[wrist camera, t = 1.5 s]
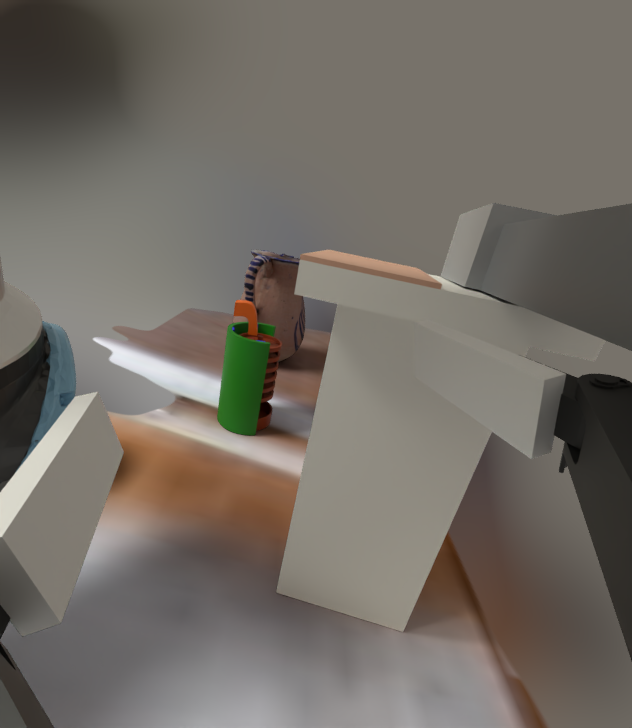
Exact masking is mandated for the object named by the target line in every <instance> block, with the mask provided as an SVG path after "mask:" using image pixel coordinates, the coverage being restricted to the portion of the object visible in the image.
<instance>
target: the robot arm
mask: <svg viewBox="0 0 632 728" xmlns="http://www.w3.org/2000/svg"><path fill="white" fill-rule="evenodd" d="M414 330H415V378H417V379H418V380H420V381H421V382H422V383H424V384H425V385H427V386H428V387H430V388H431V389H432V390H434V391H435V392H437V393H438V394H440V395H441V396H442V397H444V398H445V399H447V400H448V401H449V402H451V403H452V404H454V405H455V406H457V407H458V408H459V409H461V410H462V411H464V412H465V413H467V414H468V415H469V416H471V417H472V418H474V419H475V420H477V421H478V422H479V423H481V424H482V425H484V426H485V427H487V428H488V429H489V430H491V431H492V432H494V433H495V434H497V435H498V436H499V437H501V438H502V439H504V440H505V441H506V442H508V443H509V444H511V445H512V446H514V447H515V448H516V449H518V450H519V451H521V452H522V453H524V454H525V455H526V456H528V457H529V458H531V459H533V458H536V457H539V456H542V455H544V454H547V453H550V452H551V450H552V445H553V440H554V435H555V436H557V437H558V438H560V439H562V440H563V441H565V443H564V448H563V453H562V458H561V463H560V467H559V472H561V473H563V472H564V468H565V467H567V466H568V469H569V472H570V475H571V478H572V481H573V484H574V487H575V490H576V493H577V496H578V499H579V502H580V505H581V508H582V511H583V515H584V518H585V521H586V524H587V527H588V530H589V533H590V535H591V539H592V542H593V545H594V548H595V551H596V554H597V557H598V560H599V563H600V566H601V569H602V572H603V575H604V578H605V581H606V584H607V587H608V590H609V593H610V597H611V599H612V602H613V606H614V609H615V612H616V615H617V618H618V621H619V624H620V627H621V630H622V633H623V636H624V639H625V642H626V645H627V648H628V651H629V654H630V657H631V660H632V383H631V382H630V381H627V380H626V379H622V378H620V377H615V376H611V375H604V374H587V375H582V376H581V377H579V378H577V377H574V376H571V375H569V374H566V373H564V372H561V371H559V370H556V369H554V368H551V367H549V366H546V365H543V364H541V363H539V362H536V361H533V360H531V359H528V358H526V357H524V356H521V355H518V354H515V353H513V352H510V351H507V350H505V349H502V348H500V347H497V346H495V345H492V344H490V343H487V342H485V341H482V340H480V339H477V338H475V337H472V336H470V335H467V334H465V333H462V332H460V331H457V330H455V329H452V328H450V327H447V326H445V325H442V324H440V323H437V322H435V321H432V320H430V319H429V320H424V321H419V322H415V323H414ZM75 392H76V373H75V364H74V357H73V352H72V348H71V345H70V341H69V339H68V336H67V334H66V332H65V331H64V330H63V328H61V327H60V326H58V325H56V324H50V323H46V322H44V321H42V316H41V313H40V310H39V308H38V307H37V305H36V304H35V302H34V301H33V300H32V299H31V298H30V297H29V296H27V295H26V294H25V293H23V292H22V291H20V290H19V289H17V288H15V287H14V286H12V285H10V284H8V283H6V282H5V281H4V278H3V272H2V265H1V258H0V639H1V637H2V635H3V633H4V631H5V629H6V627H7V625H8V623H9V621H10V622H11V623H12V624H13V625H14V627H15V628H16V629H17V631H18V632H19V633H20V634H21V636H22V637H23V636H26V635H29V634H32V633H35V632H38V631H41V630H43V629H46V628H49V627H52V626H55V625H58V624H61V622H62V620H63V617H64V614H65V611H66V609H67V606H68V603H69V600H70V598H71V595H72V592H73V590H74V587H75V584H76V581H77V579H78V576H79V573H80V570H81V568H82V565H83V562H84V560H85V557H86V554H87V551H88V549H89V546H90V543H91V541H92V538H93V535H94V532H95V530H96V527H97V524H98V521H99V519H100V516H101V513H102V511H103V508H104V505H105V502H106V500H107V497H108V494H109V491H110V489H111V486H112V483H113V481H114V478H115V475H116V472H117V470H118V467H119V464H120V461H121V459H122V456H123V453H124V451H123V449H122V447H121V444H120V442H119V440H118V437H117V435H116V433H115V430H114V428H113V425H112V423H111V421H110V418H109V416H108V414H107V411H106V409H105V407H104V404H103V402H102V400H101V397H100V395H99V392H94V393H90V394H85V395H81V396H76V397H74V396H75ZM0 728H54V726H53V725H52V723H51V721H50V720H49V718H48V716H47V715H46V713H45V712H44V710H43V708H42V707H41V705H40V703H39V702H38V700H37V698H36V697H35V695H34V693H33V692H32V690H31V688H30V687H29V685H28V683H27V682H26V680H25V678H24V677H23V675H22V673H21V672H20V670H19V668H18V667H17V665H16V664H15V662H14V660H13V659H12V657H11V655H10V654H9V652H8V650H7V649H6V648H5V646H4V645H3V644H2V643H1V642H0Z"/></svg>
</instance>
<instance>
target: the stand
mask: <svg viewBox="0 0 632 728" xmlns="http://www.w3.org/2000/svg"><path fill="white" fill-rule="evenodd" d="M294 294H296V295H300V296H305V297H309V298H314V299H319V300H323V301H328V302H332V303H336V304H338V305H337V310H336V315H335V319H334V324H333V329H332V333H331V338H330V343H329V347H328V352H327V357H326V361H325V366H324V371H323V375H322V380H321V385H320V389H319V394H318V399H317V403H316V408H315V413H314V417H313V422H312V426H311V431H310V436H309V440H308V445H307V450H306V454H305V459H304V464H303V468H302V473H301V478H300V482H299V487H298V492H297V496H296V501H295V506H294V510H293V515H292V520H291V524H290V529H289V534H288V538H287V543H286V548H285V552H284V557H283V562H282V566H281V571H280V576H279V580H278V585H277V590H276V593H279V594H282V595H285V596H289V597H292V598H295V599H298V600H301V601H305V602H308V603H311V604H314V605H318V606H321V607H324V608H327V609H330V610H334V611H337V612H340V613H343V614H346V615H350V616H353V617H356V618H359V619H363V620H366V621H369V622H372V623H375V624H379V625H382V626H385V627H388V628H392V629H395V630H398V631H401V632H403V631H404V629H405V627H406V624H407V622H408V620H409V618H410V615H411V613H412V611H413V609H414V606H415V604H416V602H417V600H418V597H419V595H420V593H421V590H422V588H423V586H424V584H425V581H426V579H427V577H428V575H429V572H430V570H431V568H432V566H433V563H434V561H435V559H436V557H437V554H438V552H439V550H440V548H441V545H442V543H443V541H444V539H445V536H446V534H447V532H448V530H449V527H450V525H451V523H452V520H453V518H454V516H455V514H456V511H457V509H458V507H459V504H460V502H461V500H462V498H463V496H464V493H465V491H466V489H467V487H468V484H469V482H470V480H471V477H472V475H473V473H474V471H475V469H476V466H477V464H478V462H479V459H480V457H481V455H482V453H483V450H484V448H485V446H486V443H487V441H488V439H489V437H490V435H491V432H492V431H491V430H489V429H488V428H487V427H485V426H484V425H482V424H481V423H479V422H478V421H477V420H475V419H474V418H472V417H471V416H469V415H468V414H467V413H465V412H464V411H462V410H461V409H459V408H458V407H457V406H455V405H454V404H452V403H451V402H449V401H448V400H447V399H445V398H444V397H442V396H441V395H440V394H438V393H437V392H435V391H434V390H432V389H431V388H430V387H428V386H427V385H425V384H424V383H422V382H421V381H420V380H418V379H417V378H415V330H414V323H415V322H419V321H424V320H429V319H430V320H432V321H435V322H437V323H440V324H442V325H445V326H447V327H450V328H452V329H455V330H457V331H460V332H462V333H465V334H467V335H470V336H472V337H475V338H477V339H480V340H482V341H485V342H487V343H490V344H492V345H495V346H497V347H500V348H502V349H505V350H507V351H510V352H513V353H515V354H518V355H521V356H524V357H525V356H526V353H527V351H528V349H529V347H533V348H537V349H542V350H546V351H550V352H555V353H559V354H564V355H568V356H573V357H577V358H582V359H586V360H591V361H595V360H596V358H597V356H598V354H599V352H600V350H601V348H602V346H603V344H604V342H605V341H606V340H603V339H601V338H598V337H596V336H593V335H591V334H588V333H586V332H583V331H581V330H578V329H576V328H573V327H571V326H568V325H566V324H563V323H561V322H558V321H556V320H553V319H551V318H548V317H546V316H543V315H541V314H538V313H536V312H533V311H531V310H528V309H526V308H523V307H521V306H518V305H516V304H513V303H511V302H508V301H506V300H503V299H501V298H498V297H496V296H493V295H491V294H488V293H486V292H483V291H481V290H477V289H472V288H468V287H464V286H462V285H459V284H457V283H455V282H452V281H450V280H448V279H445V278H443V277H439V276H434V275H429V274H426V273H425V272H423V271H421V270H420V269H418V268H414V267H409V266H404V265H400V264H395V263H390V262H385V261H380V260H376V259H371V258H366V257H361V256H356V255H351V254H347V253H342V252H337V251H333V250H325V251H319V252H312V253H305V254H301V256H300V262H299V268H298V274H297V280H296V286H295V292H294Z"/></svg>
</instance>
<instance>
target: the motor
mask: <svg viewBox="0 0 632 728" xmlns="http://www.w3.org/2000/svg"><path fill="white" fill-rule="evenodd" d="M234 316H243V317H246V318H247V319H248V322H236V323H232V324H230V325H229V326H228V329H227V338H226V346H225V355H224V364H223V372H222V381H221V390H220V398H219V407H218V415H217V418H218V421H219V423H220V424H221V425H222V426H223V427H224V428H225V429H227V430H229V431H231V432H234V433H237V434H241V435H255V434H256V431H257V430H261V429H264V428H266V427H267V426H268V425H269V424H270V420H271V415H272V406H271V405H270V404H269V403H268V402H267V401H269V400H270V399H271V398H272V397H273V392H274V391H273V389H274V387H275V379H276V376H277V371H276V370H277V369H278V365H279V363H278V360H279V359H280V352H279V350H281V348H282V342H281V341H280V340H279V339H277V338H275V337H274V335H275V329H276V326H273V325H269V324H264V323H257V311H256V308H255V305H254V304H253V303H252V302H250V301H247V300H237V301H236V302H235V310H234Z"/></svg>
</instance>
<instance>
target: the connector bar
mask: <svg viewBox="0 0 632 728" xmlns="http://www.w3.org/2000/svg"><path fill="white" fill-rule="evenodd" d="M441 277H443V278H445V279H448V280H450V281H452V282H455V283H457V284H459V285H462V286H464V287H468V288H472V289H477V290H481V291H483V292H486V293H488V294H491V295H493V296H496V297H498V298H501V299H503V300H506V301H508V302H511V303H513V304H516V305H518V306H521V307H523V308H526V309H528V310H531V311H533V312H536V313H538V314H541V315H543V316H546V317H548V318H551V319H553V320H556V321H558V322H561V323H563V324H566V325H568V326H571V327H573V328H576V329H578V330H581V331H583V332H586V333H588V334H591V335H593V336H596V337H598V338H601V339H603V340H606V341H608V342H611V343H614V344H616V345H619V346H621V347H623V348H626V349H628V350H631V351H632V204H626V205H620V206H614V207H608V208H601V209H595V210H589V211H583V212H577V213H572V214H564V215H558V216H557V215H552V214H547V213H542V212H537V211H532V210H526V209H522V208H517V207H511V206H506V205H501V204H496V203H492V204H489V205H486V206H484V207H481V208H478V209H475V210H472V211H469V212H466V213H464V214H461V215H460V217H459V220H458V223H457V227H456V230H455V233H454V236H453V239H452V242H451V245H450V248H449V251H448V255H447V258H446V261H445V264H444V267H443V270H442V274H441Z"/></svg>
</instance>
